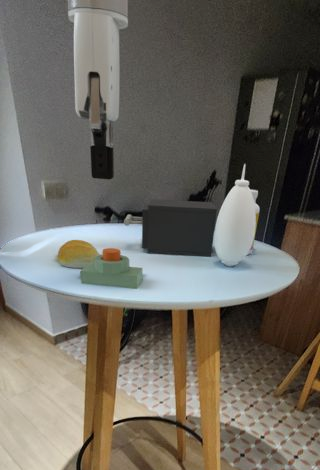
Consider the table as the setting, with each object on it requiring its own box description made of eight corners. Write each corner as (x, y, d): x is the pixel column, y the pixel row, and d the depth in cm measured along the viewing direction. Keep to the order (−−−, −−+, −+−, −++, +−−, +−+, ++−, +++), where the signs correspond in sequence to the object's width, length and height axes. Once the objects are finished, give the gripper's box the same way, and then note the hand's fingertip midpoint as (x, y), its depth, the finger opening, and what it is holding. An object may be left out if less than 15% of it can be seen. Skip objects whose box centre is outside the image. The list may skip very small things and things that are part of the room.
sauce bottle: (204, 261, 79) (215, 161, 68) (234, 259, 82) (249, 162, 71) (223, 271, 73) (239, 164, 63) (255, 268, 76) (275, 165, 66)
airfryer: (147, 253, 83) (148, 205, 77) (149, 243, 91) (150, 198, 85) (211, 256, 83) (216, 208, 77) (207, 246, 91) (212, 202, 85)
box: (80, 284, 63) (78, 260, 61) (90, 274, 68) (88, 251, 66) (136, 289, 62) (136, 265, 60) (142, 279, 67) (143, 256, 65)
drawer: (123, 247, 83) (122, 208, 78) (127, 238, 90) (127, 202, 85) (201, 251, 83) (205, 212, 78) (198, 242, 90) (202, 206, 85)
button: (100, 262, 62) (100, 251, 61) (105, 258, 64) (105, 247, 63) (118, 263, 62) (117, 253, 61) (122, 259, 64) (122, 248, 63)
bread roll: (57, 269, 70) (54, 247, 67) (59, 257, 77) (57, 236, 74) (101, 269, 71) (99, 247, 69) (99, 257, 78) (98, 237, 76)
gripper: (80, 19, 52) (87, 172, 63) (52, -17, 40) (67, 181, 51) (133, 23, 52) (131, 176, 63) (121, -11, 40) (121, 185, 51)
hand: (102, 178), depth 57 cm, fingers closed
